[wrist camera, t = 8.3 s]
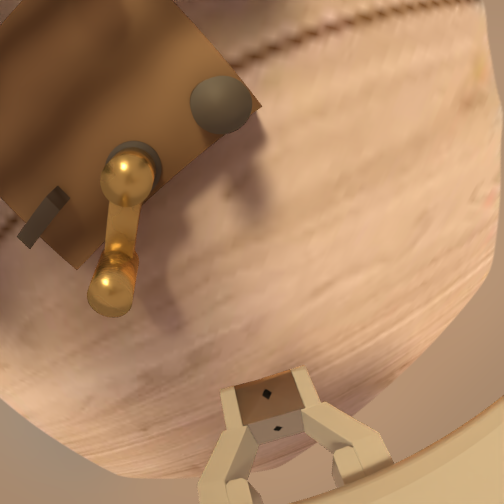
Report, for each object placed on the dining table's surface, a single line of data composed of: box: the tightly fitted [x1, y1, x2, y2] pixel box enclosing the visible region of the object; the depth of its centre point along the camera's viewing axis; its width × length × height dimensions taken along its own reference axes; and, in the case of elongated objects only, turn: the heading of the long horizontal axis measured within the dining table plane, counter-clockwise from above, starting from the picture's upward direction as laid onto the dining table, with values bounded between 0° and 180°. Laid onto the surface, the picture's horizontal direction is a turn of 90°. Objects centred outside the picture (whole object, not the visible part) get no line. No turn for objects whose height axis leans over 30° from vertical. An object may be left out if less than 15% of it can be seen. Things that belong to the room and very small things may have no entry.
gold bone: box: [87, 147, 156, 317], centre depth 16 cm, size 9×3×4 cm, turn 164°
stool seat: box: [0, 0, 262, 270], centre depth 13 cm, size 16×16×7 cm
